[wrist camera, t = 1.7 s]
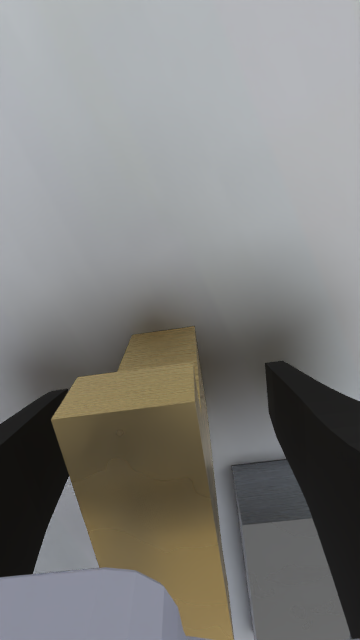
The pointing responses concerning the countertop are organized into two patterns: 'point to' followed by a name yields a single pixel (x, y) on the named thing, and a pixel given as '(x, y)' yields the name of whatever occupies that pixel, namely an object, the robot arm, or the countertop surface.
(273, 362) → the robot arm
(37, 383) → the countertop surface
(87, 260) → the countertop surface
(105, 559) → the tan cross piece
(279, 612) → the metal plate with slot
